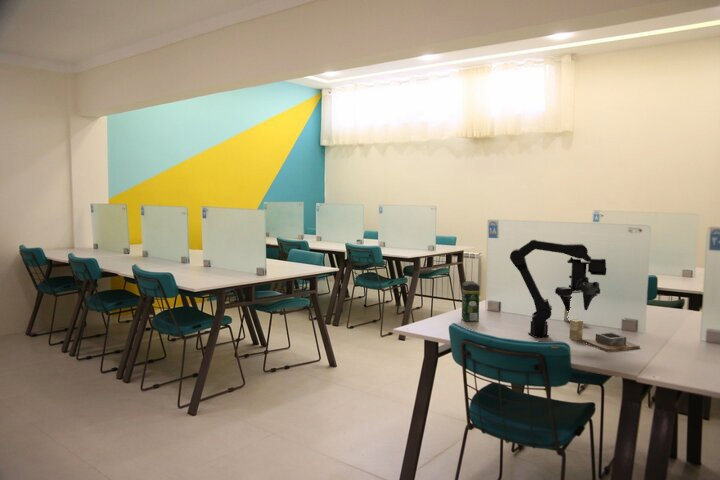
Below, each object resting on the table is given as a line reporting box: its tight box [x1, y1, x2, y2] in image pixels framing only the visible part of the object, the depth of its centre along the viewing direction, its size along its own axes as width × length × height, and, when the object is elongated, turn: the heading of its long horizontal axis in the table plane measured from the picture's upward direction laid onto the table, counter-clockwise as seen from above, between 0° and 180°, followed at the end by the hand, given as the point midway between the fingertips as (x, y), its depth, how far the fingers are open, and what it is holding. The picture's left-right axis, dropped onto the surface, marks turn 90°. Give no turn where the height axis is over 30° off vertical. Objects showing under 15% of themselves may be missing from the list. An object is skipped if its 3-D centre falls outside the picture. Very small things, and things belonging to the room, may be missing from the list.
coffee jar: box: [461, 280, 481, 323], centre depth 260 cm, size 10×8×19 cm
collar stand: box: [581, 331, 641, 353], centre depth 219 cm, size 16×14×4 cm
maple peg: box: [568, 318, 584, 341], centre depth 228 cm, size 4×4×8 cm
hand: (576, 310), depth 227 cm, fingers open, 9 cm apart
